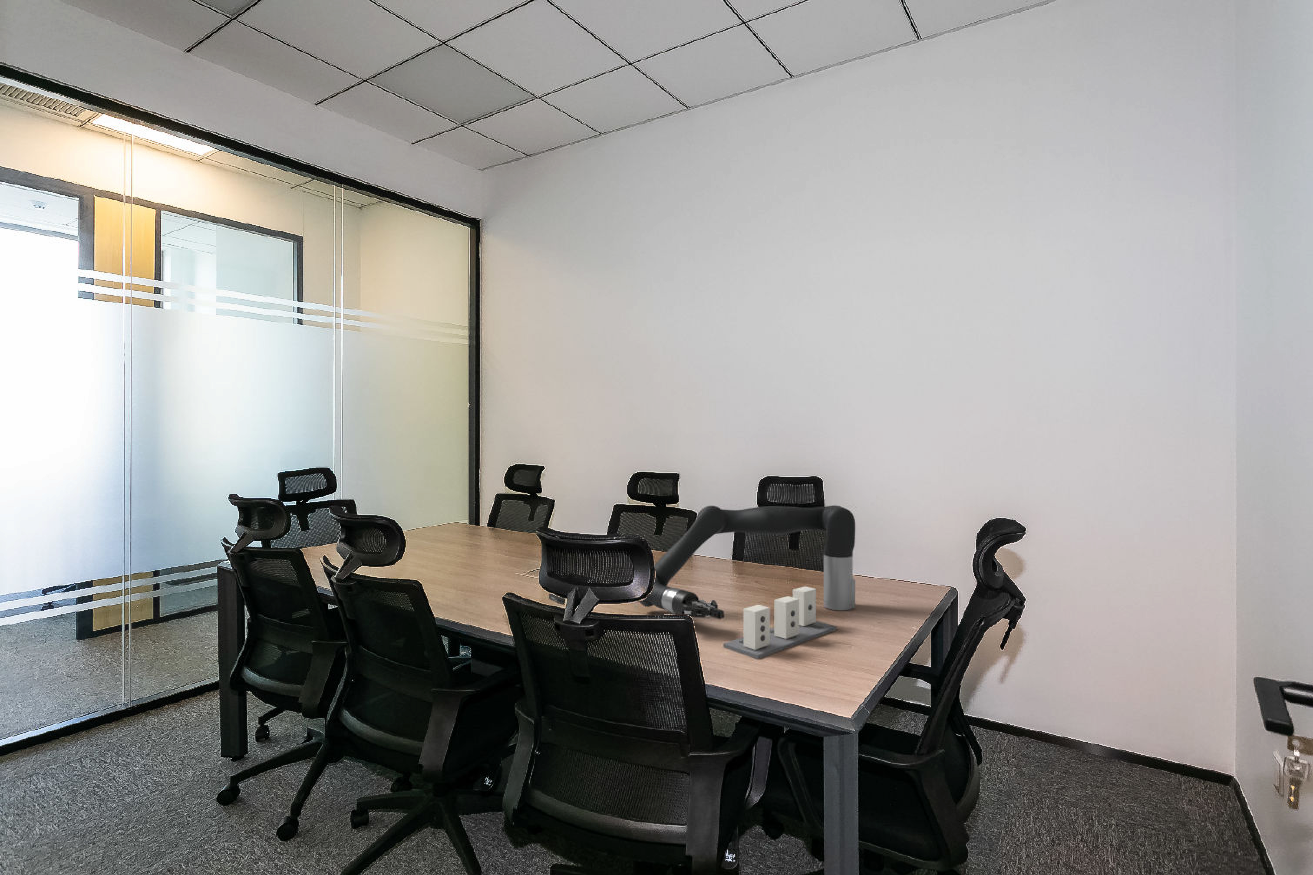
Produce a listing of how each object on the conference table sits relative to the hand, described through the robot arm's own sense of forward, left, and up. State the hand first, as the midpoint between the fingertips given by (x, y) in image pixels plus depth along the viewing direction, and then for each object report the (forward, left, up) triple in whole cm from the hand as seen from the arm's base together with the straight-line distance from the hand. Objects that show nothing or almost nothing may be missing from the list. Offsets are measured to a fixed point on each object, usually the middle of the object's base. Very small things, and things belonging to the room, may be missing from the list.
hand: (722, 614), depth 184 cm
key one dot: (-27, -5, -6) cm, 28 cm away
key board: (-17, +3, -7) cm, 18 cm away
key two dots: (-18, +4, -6) cm, 19 cm away
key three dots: (-6, +11, -6) cm, 14 cm away
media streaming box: (+38, -53, -7) cm, 66 cm away
